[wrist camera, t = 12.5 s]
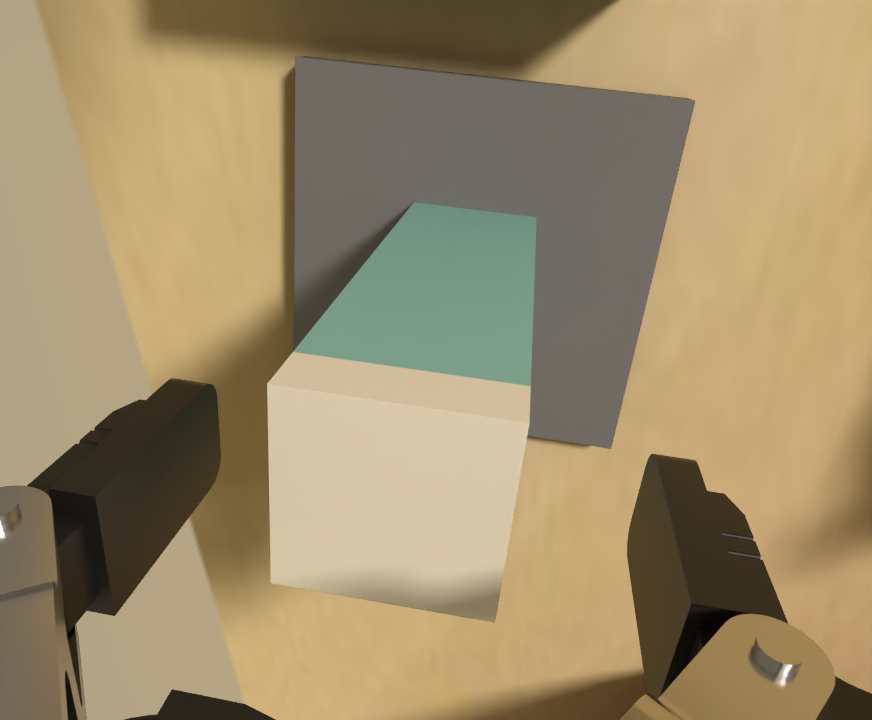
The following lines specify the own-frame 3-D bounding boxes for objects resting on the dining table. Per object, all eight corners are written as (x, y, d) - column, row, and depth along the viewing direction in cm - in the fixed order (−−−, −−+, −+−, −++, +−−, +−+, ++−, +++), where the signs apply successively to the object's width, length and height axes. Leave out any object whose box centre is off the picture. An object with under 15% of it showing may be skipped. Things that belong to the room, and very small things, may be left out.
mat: (688, 98, 21) (695, 101, 20) (608, 434, 26) (610, 448, 25) (305, 56, 22) (295, 56, 21) (301, 387, 27) (293, 399, 26)
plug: (536, 217, 22) (529, 422, 10) (519, 331, 24) (494, 622, 12) (413, 202, 22) (267, 384, 10) (405, 316, 24) (271, 582, 12)
